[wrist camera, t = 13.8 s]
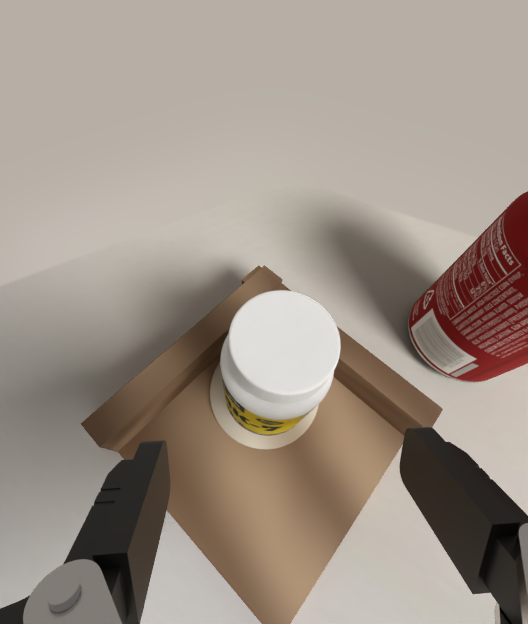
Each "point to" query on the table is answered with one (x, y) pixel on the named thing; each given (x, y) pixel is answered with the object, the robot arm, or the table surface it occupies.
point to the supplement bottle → (278, 361)
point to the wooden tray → (263, 457)
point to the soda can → (479, 305)
